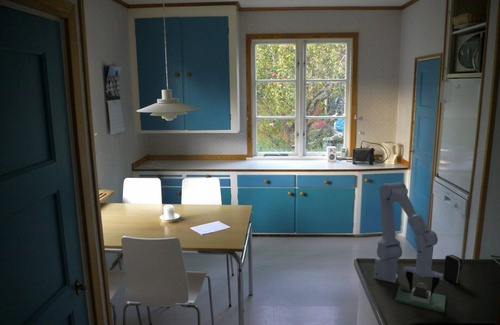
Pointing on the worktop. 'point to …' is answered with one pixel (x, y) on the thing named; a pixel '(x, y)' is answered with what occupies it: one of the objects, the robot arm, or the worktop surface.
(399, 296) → the board
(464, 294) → the worktop surface
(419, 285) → the plug
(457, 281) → the battery charger
